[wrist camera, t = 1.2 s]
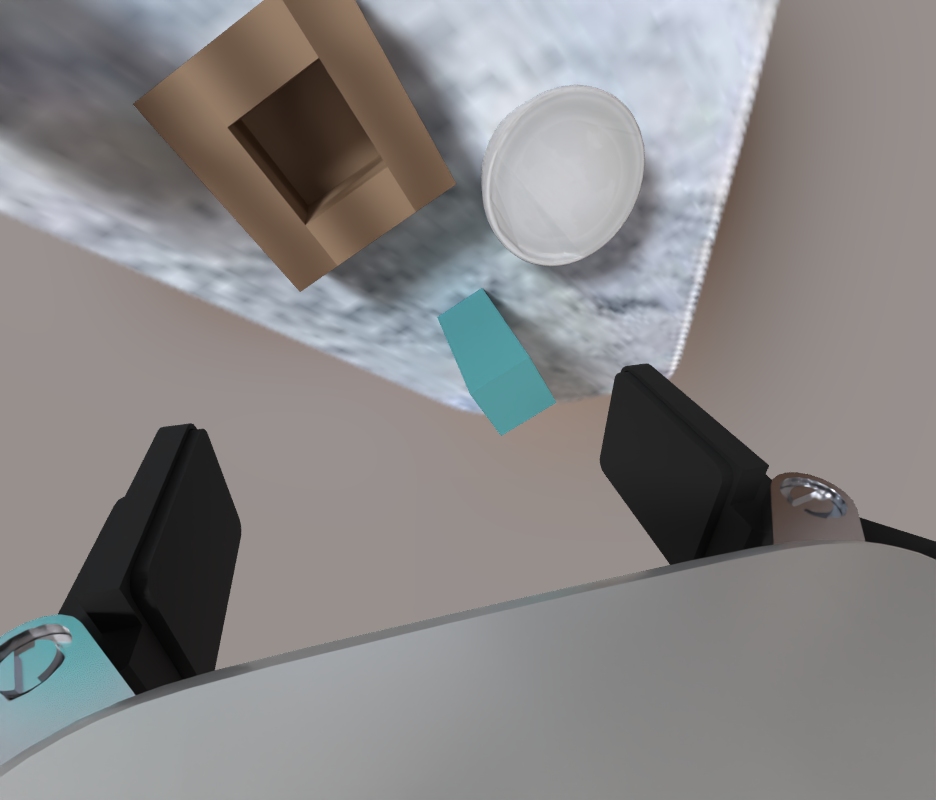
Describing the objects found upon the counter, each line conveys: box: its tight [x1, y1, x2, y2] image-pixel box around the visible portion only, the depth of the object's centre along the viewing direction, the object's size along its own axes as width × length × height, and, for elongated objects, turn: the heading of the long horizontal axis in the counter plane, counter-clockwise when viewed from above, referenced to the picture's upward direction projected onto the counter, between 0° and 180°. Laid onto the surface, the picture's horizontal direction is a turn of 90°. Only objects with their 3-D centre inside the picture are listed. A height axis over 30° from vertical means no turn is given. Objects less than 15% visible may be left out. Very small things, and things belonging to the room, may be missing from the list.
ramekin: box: [481, 85, 645, 266], centre depth 34 cm, size 11×11×5 cm
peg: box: [437, 288, 556, 435], centre depth 37 cm, size 4×4×12 cm
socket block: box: [133, 0, 456, 292], centre depth 29 cm, size 12×12×6 cm
